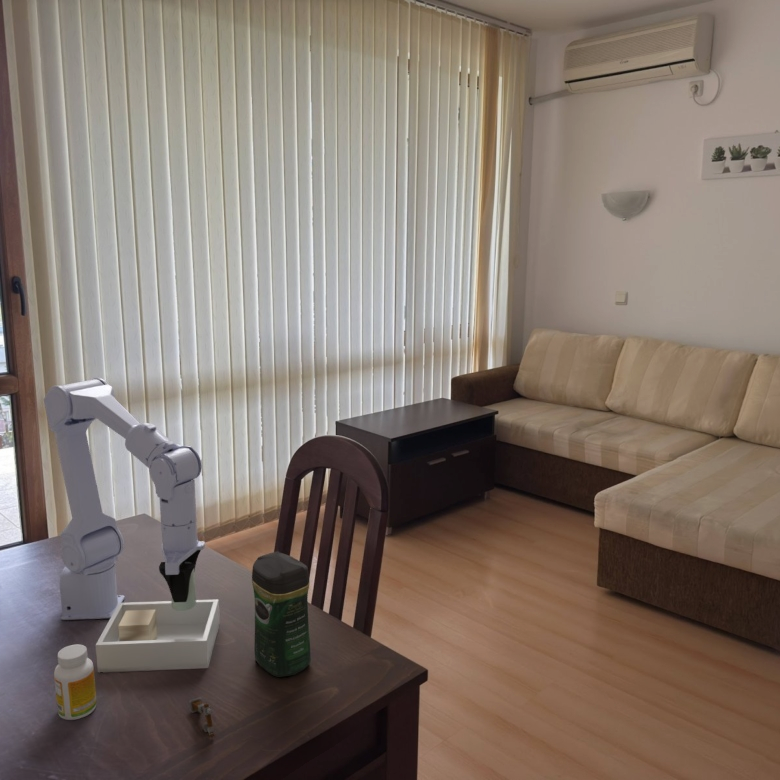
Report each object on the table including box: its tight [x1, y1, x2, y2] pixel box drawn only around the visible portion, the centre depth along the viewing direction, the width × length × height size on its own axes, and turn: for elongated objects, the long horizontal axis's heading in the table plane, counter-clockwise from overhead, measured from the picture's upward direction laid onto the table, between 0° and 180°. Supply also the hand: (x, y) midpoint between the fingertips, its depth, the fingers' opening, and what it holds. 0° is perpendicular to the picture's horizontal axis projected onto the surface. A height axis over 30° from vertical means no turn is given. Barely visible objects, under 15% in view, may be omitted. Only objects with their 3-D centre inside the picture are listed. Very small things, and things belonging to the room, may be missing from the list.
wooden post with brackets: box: [188, 696, 215, 739], centre depth 105 cm, size 2×8×4 cm, turn 31°
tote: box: [95, 598, 221, 674], centre depth 124 cm, size 18×14×5 cm
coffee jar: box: [251, 550, 312, 678], centre depth 119 cm, size 10×8×19 cm
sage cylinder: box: [170, 562, 197, 611], centre depth 122 cm, size 4×4×7 cm
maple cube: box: [118, 610, 157, 641], centre depth 123 cm, size 5×5×5 cm
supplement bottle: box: [53, 643, 98, 721], centre depth 107 cm, size 5×5×10 cm
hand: (183, 594), depth 123 cm, fingers closed on sage cylinder, 4 cm apart
